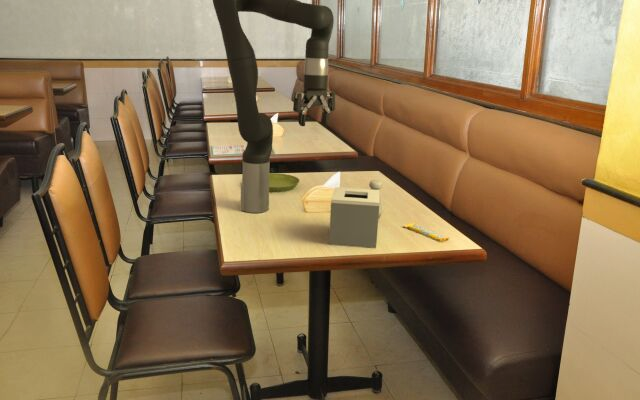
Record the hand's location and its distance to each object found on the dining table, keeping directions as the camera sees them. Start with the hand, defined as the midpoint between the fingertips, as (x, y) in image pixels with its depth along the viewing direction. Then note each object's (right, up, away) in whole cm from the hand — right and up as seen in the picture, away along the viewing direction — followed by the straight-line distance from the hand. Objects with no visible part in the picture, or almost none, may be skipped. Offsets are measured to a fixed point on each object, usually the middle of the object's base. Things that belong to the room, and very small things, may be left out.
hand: (313, 125), depth 186 cm
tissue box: (+12, -35, -5) cm, 38 cm away
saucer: (-17, -19, +48) cm, 54 cm away
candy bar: (+36, -35, +2) cm, 50 cm away
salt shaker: (+20, -30, +15) cm, 39 cm away
